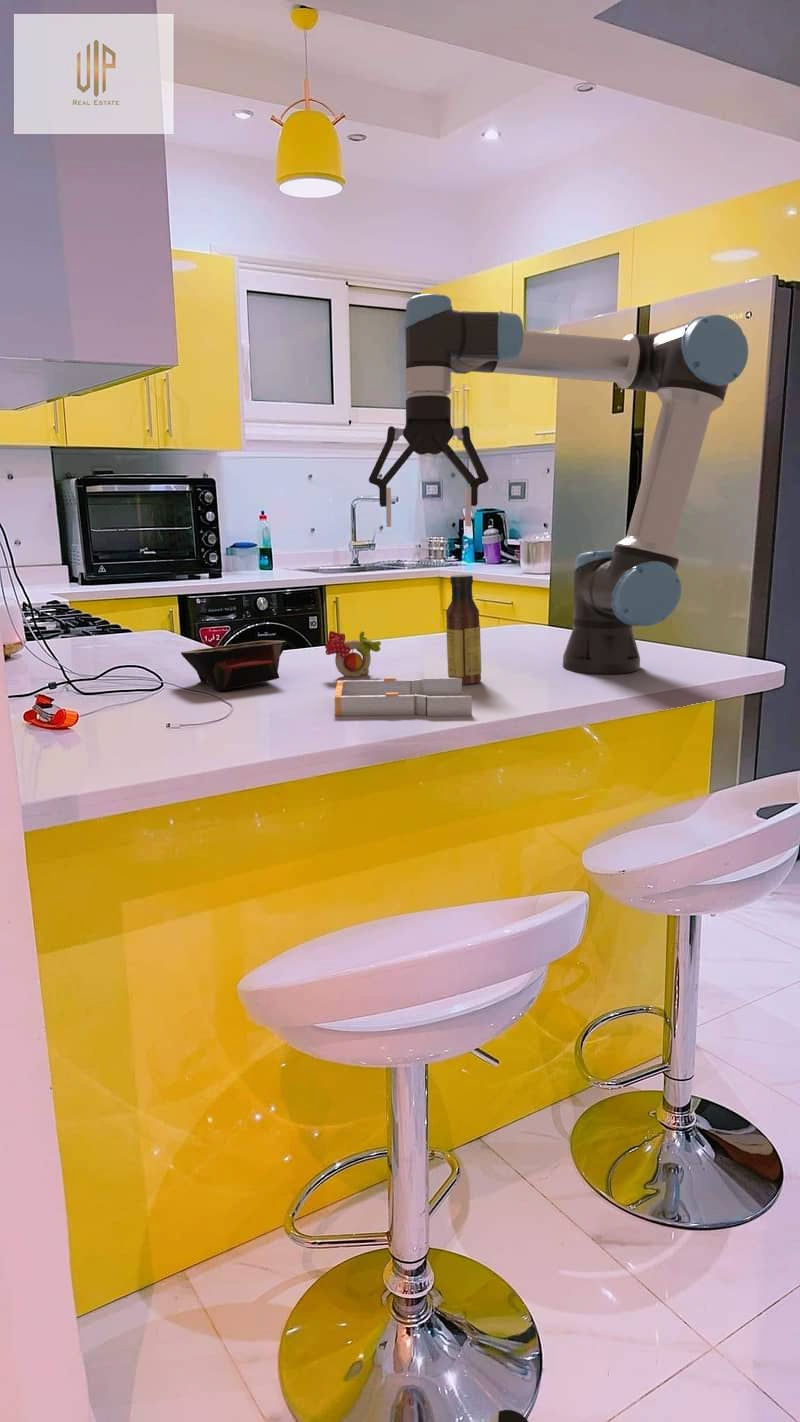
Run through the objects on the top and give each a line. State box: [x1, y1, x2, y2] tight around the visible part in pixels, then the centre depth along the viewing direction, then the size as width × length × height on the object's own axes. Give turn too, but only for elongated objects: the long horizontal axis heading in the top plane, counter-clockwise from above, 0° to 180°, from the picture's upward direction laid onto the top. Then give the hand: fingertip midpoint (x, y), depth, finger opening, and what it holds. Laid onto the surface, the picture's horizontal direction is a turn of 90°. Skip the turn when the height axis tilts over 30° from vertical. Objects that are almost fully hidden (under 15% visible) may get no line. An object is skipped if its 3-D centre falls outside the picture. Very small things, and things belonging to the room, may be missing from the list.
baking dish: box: [180, 640, 288, 692], centre depth 169 cm, size 14×18×10 cm
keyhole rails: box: [334, 676, 473, 717], centre depth 152 cm, size 22×16×3 cm
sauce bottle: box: [445, 574, 482, 686], centre depth 169 cm, size 6×6×20 cm
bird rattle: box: [324, 630, 382, 678], centre depth 176 cm, size 6×11×9 cm, turn 126°
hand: (428, 526), depth 158 cm, fingers open, 13 cm apart
